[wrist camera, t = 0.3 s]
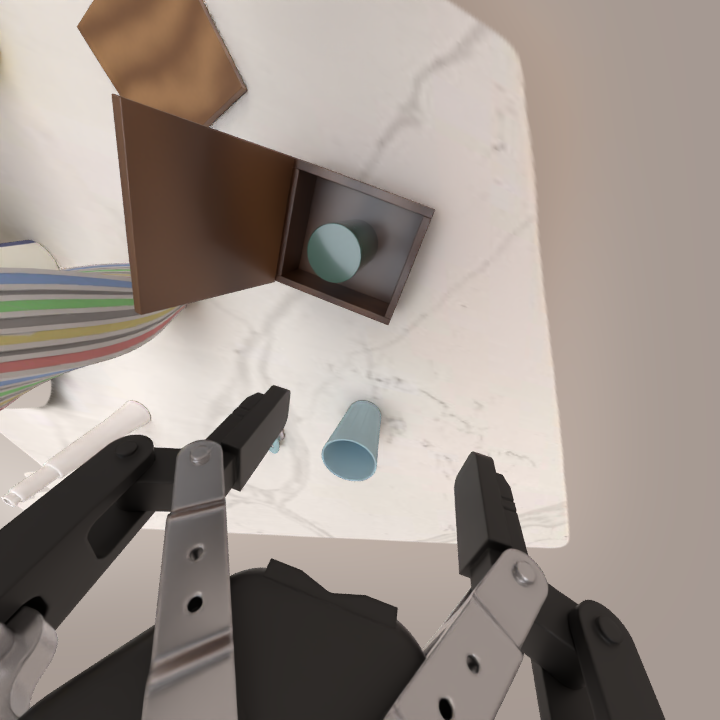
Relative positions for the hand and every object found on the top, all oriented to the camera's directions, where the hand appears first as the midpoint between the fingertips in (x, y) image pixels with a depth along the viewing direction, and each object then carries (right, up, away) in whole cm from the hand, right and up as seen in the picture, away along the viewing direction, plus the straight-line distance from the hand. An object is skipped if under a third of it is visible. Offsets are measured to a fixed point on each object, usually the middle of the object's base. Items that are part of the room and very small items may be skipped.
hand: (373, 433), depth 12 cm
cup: (0, -6, +36) cm, 36 cm away
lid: (-12, +14, +12) cm, 22 cm away
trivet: (-22, +36, +19) cm, 46 cm away
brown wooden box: (-1, +18, +23) cm, 29 cm away
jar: (-1, +17, +23) cm, 29 cm away
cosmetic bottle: (-48, -8, +50) cm, 70 cm away
